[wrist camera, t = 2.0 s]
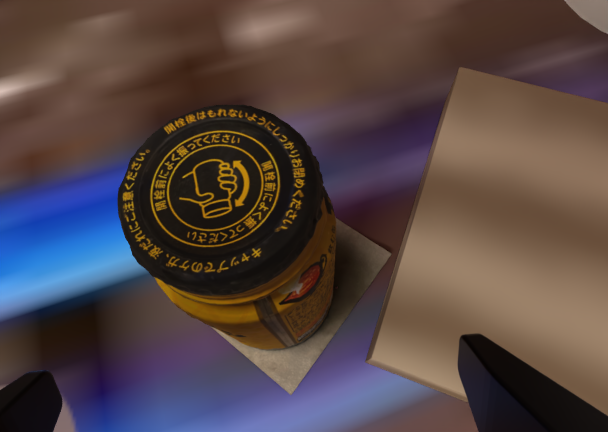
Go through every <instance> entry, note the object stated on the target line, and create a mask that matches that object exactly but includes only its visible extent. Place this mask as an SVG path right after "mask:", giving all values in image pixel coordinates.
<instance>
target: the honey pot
mask: <svg viewBox="0 0 608 432" xmlns="http://www.w3.org/2000/svg"><path fill="white" fill-rule="evenodd" d="M564 1H565V2H566V3H567V4H568V5H569V6H570V7H571V8H572V9H573V10H574V11H575V12H576V13H577V14H578V15H579V16H580V17H581V18H582V19H584V20H585V21H587V22H588V23H590V24H591V25H593V26H594V27H596V28H597V29H599V30H600V31H602V32H605V33H607V34H608V0H564Z"/></svg>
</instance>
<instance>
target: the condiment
mask: <svg viewBox="0 0 608 432" xmlns="http://www.w3.org/2000/svg"><path fill="white" fill-rule="evenodd" d="M118 214H119V218H120V221H121V226H122V229H123V232H124V235H125V238H126V240H127V241H128V243H129V245H130V248H131V251H132V255H133V256H134V258H135V259H136V260H137V262H138V263H139V264H140V265H141V266H142V267H144V268H145V269H146V270H147V271H149V273H150V274H151V275H152V276H153V277H155V279H156V281H157V283H158V285H159V286H160V287H161V288H162V290H163V291H164V292H165V293H166V295H167V296H168V297H169V298H170V300H171V301H172V302H173V303H174V304H175V305H176V306H177V307H178V308H180V309H181V310H183V311H184V312H186V313H187V314H188V315H189V316H191V317H192V318H196V319H198V320H200V321H202V322H203V323H205V324H207V325H209V326H211V327H212V328H213V329H214V330H215V331H217V332H218V333H219V334H220V335H221V336H222V337H224V338H225V339H226V340H227V341H228V342H230V343H231V344H232V345H233V346H234V347H235V348H237V349H238V350H239V351H240V352H241V353H242V354H244V355H245V356H246V357H247V358H248V359H250V360H251V361H252V362H253V363H254V364H255V365H257V366H258V367H259V368H260V369H261V370H262V371H264V372H265V373H266V374H267V375H268V376H269V377H271V378H272V379H273V380H274V381H275V382H276V383H278V384H279V385H280V386H281V387H282V388H283V389H285V390H286V391H287V392H288V393H289V394H291V395H292V393H293V392H294V390H295V389H296V388H297V386H298V385H299V383H300V382H301V381H302V379H303V378H304V376H305V375H306V374H307V372H308V371H309V369H310V368H311V367H312V365H313V364H314V363H315V361H316V360H317V358H318V357H319V355H320V354H321V353H322V351H323V350H324V349H325V347H326V346H327V344H328V343H329V342H330V340H331V339H332V337H333V336H334V334H335V333H336V332H337V330H338V329H339V327H340V326H341V325H342V323H343V322H344V320H345V319H346V318H347V316H348V315H349V313H350V312H351V310H352V309H353V308H354V306H355V305H356V303H357V302H358V301H359V299H360V298H361V297H362V295H363V294H364V292H365V291H366V290H367V288H368V287H369V286H370V284H371V283H372V281H373V280H374V278H375V277H376V275H377V274H378V272H379V271H380V270H381V268H382V267H383V266H384V264H385V263H386V261H387V260H388V259H389V257H390V256H391V253H390V252H388V251H386V250H385V249H383V248H382V247H380V246H378V245H377V244H375V243H373V242H372V241H370V240H369V239H367V238H366V237H364V236H363V235H361V234H360V233H358V232H357V231H355V230H354V229H352V228H351V227H349V226H347V225H346V224H344V223H343V222H341V221H340V220H338V219H337V218H335V215H334V210H333V206H332V203H331V200H330V198H329V197H328V194H327V192H326V190H325V188H324V186H323V179H322V174H321V172H320V169H319V162H318V161H317V159H316V157H315V156H314V155H313V154H312V151H311V148H310V147H309V146H308V145H307V143H306V141H305V140H304V138H303V137H302V136H301V135H300V134H299V133H298V132H297V131H296V130H295V129H294V128H292V127H291V126H290V125H289V124H287V123H285V122H284V121H282V120H280V119H279V118H278V117H276V116H275V115H273V114H271V113H268V112H266V111H263V110H260V109H256V108H254V107H252V106H246V105H215V106H209V107H204V108H202V109H199V110H195V111H192V112H190V113H188V114H185V115H183V116H180V117H178V118H175V119H172V120H170V121H169V122H168V123H167V124H165V125H164V126H162V127H161V128H160V129H158V130H157V131H156V132H155V133H153V134H152V136H151V137H149V138H148V139H147V140H146V142H145V143H144V144H143V145H142V146H141V147H140V148H139V149H138V150H137V152H136V153H135V155H134V156H133V157H132V158H131V160H130V162H129V165H128V169H127V172H126V174H125V177H124V179H123V181H122V183H121V185H120V187H119V191H118ZM335 287H338V288H337V289H336V288H335Z"/></svg>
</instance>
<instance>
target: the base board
mask: <svg viewBox="0 0 608 432" xmlns="http://www.w3.org/2000/svg"><path fill="white" fill-rule="evenodd" d="M473 333H480V334H482V335H484V336H485V337H487V338H489V339H490V340H492V341H493V342H495V343H496V344H498V345H499V346H501V347H502V348H504V349H506V350H507V351H509V352H510V353H512V354H513V355H515V356H516V357H518V358H519V359H521V360H523V361H524V362H526V363H527V364H529V365H530V366H532V367H533V368H535V369H536V370H538V371H540V372H541V373H543V374H544V375H546V376H547V377H549V378H550V379H552V380H554V381H555V382H557V383H558V384H560V385H561V386H563V387H564V388H566V389H567V390H569V391H571V392H572V393H574V394H575V395H577V396H578V397H580V398H581V399H583V400H584V401H586V402H588V403H589V404H591V405H592V406H594V407H595V408H597V409H598V410H600V411H601V412H603V413H605V414H606V415H608V103H605V102H601V101H597V100H593V99H589V98H585V97H581V96H577V95H572V94H568V93H564V92H560V91H556V90H552V89H548V88H544V87H540V86H536V85H532V84H528V83H524V82H520V81H516V80H512V79H507V78H503V77H499V76H495V75H491V74H487V73H483V72H479V71H475V70H471V69H467V68H463V67H460V68H459V70H458V72H457V75H456V77H455V79H454V82H453V84H452V87H451V89H450V91H449V94H448V96H447V99H446V101H445V104H444V107H443V110H442V113H441V117H440V120H439V123H438V126H437V130H436V133H435V136H434V139H433V143H432V146H431V149H430V152H429V156H428V159H427V162H426V166H425V169H424V172H423V175H422V179H421V182H420V185H419V188H418V192H417V195H416V198H415V201H414V205H413V208H412V211H411V214H410V218H409V221H408V224H407V227H406V231H405V234H404V237H403V240H402V244H401V247H400V250H399V253H398V257H397V260H396V263H395V266H394V270H393V273H392V276H391V279H390V283H389V286H388V289H387V292H386V296H385V299H384V302H383V305H382V309H381V312H380V315H379V318H378V322H377V325H376V328H375V331H374V335H373V338H372V341H371V345H370V348H369V351H368V354H367V358H366V361H365V362H366V363H368V364H371V365H374V366H376V367H379V368H381V369H384V370H386V371H389V372H391V373H394V374H397V375H399V376H402V377H404V378H407V379H409V380H412V381H414V382H417V383H420V384H422V385H425V386H427V387H430V388H432V389H435V390H438V391H440V392H443V393H445V394H448V395H450V396H453V397H455V398H458V399H461V400H463V401H466V402H468V399H467V396H466V393H465V391H464V388H463V385H462V382H461V379H460V376H459V372H458V350H459V339H460V336H461V335H463V334H473ZM468 403H469V402H468Z"/></svg>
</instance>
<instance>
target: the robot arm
mask: <svg viewBox="0 0 608 432" xmlns="http://www.w3.org/2000/svg"><path fill="white" fill-rule="evenodd" d="M458 372H459V376H460V379H461V382H462V385H463V388H464V391H465V393H466V396H467V399H468V402H469V405H470V408H471V411H472V414H473V417H474V420H475V422H476V425H477V428H478V431H479V432H608V415H606V414H605V413H603V412H601V411H600V410H598V409H597V408H595V407H594V406H592V405H591V404H589V403H588V402H586V401H584V400H583V399H581V398H580V397H578V396H577V395H575V394H574V393H572V392H571V391H569V390H567V389H566V388H564V387H563V386H561V385H560V384H558V383H557V382H555V381H554V380H552V379H550V378H549V377H547V376H546V375H544V374H543V373H541V372H540V371H538V370H536V369H535V368H533V367H532V366H530V365H529V364H527V363H526V362H524V361H523V360H521V359H519V358H518V357H516V356H515V355H513V354H512V353H510V352H509V351H507V350H506V349H504V348H502V347H501V346H499V345H498V344H496V343H495V342H493V341H492V340H490V339H489V338H487V337H485V336H484V335H482V334H480V333H473V334H463V335H461V336H460V339H459V350H458ZM61 409H62V397H61V394H60V392H59V389H58V387H57V385H56V382H55V380H54V377H53V375H52V373H50V372H49V371H46V370H44V371H32V372H28V373H26V374H24V375H23V376H21V377H20V378H18V379H17V380H15V381H14V382H12V383H10V384H9V385H7V386H6V387H4V388H3V389H1V390H0V432H53V430H54V427H55V425H56V422H57V420H58V417H59V414H60V412H61Z"/></svg>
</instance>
